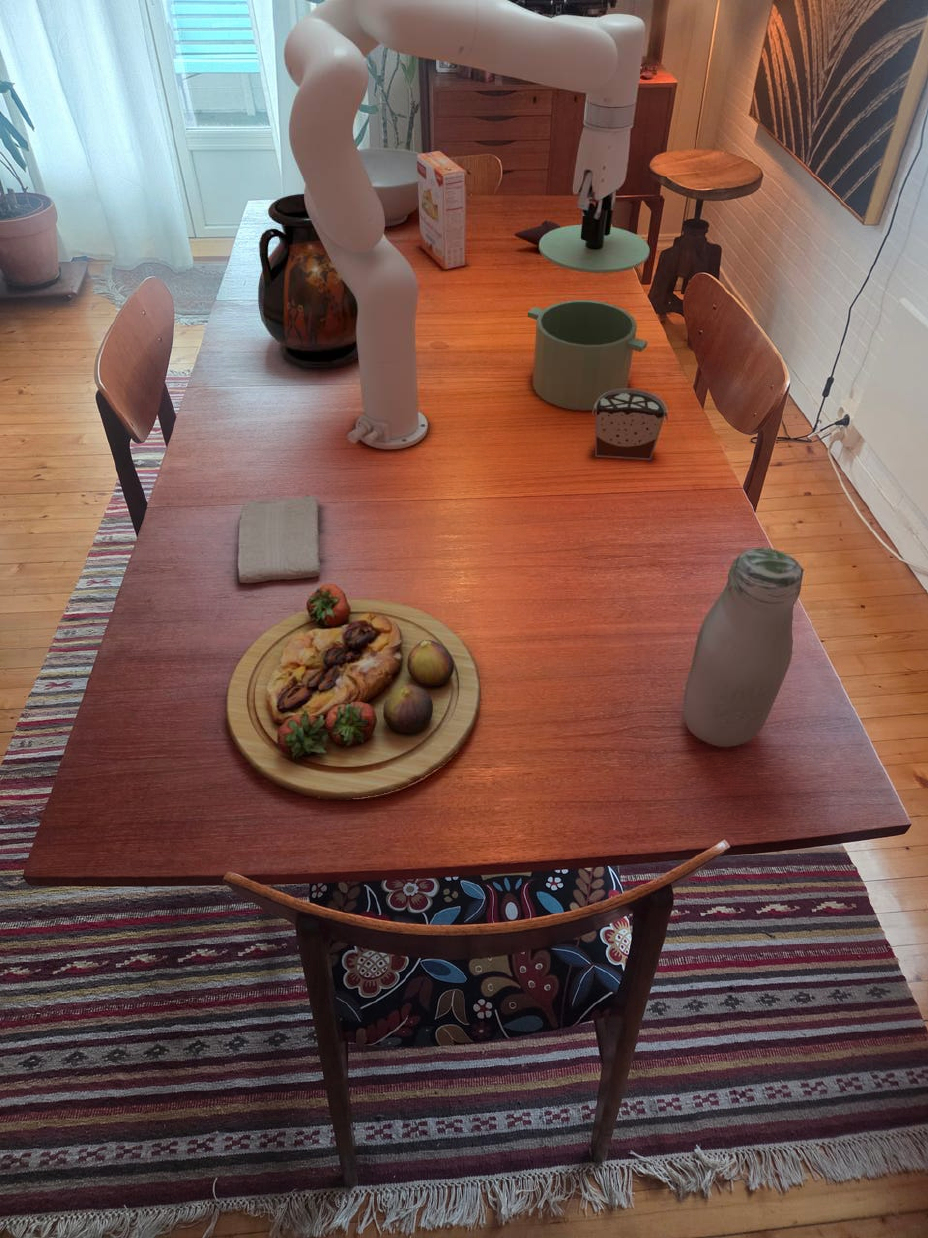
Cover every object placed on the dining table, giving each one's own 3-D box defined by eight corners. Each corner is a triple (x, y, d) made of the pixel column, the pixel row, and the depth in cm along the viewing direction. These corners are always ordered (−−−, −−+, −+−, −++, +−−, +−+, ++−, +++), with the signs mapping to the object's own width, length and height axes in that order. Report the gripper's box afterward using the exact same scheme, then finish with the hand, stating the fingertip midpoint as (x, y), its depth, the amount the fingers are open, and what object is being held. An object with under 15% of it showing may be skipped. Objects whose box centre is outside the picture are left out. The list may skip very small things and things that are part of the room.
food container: (657, 439, 153) (667, 388, 146) (659, 460, 148) (669, 408, 141) (586, 435, 154) (592, 384, 146) (586, 456, 149) (592, 404, 142)
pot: (612, 425, 156) (622, 361, 147) (503, 387, 165) (505, 324, 156) (655, 382, 166) (666, 320, 157) (550, 348, 175) (555, 287, 166)
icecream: (518, 231, 200) (582, 235, 202) (515, 210, 204) (579, 214, 206) (513, 257, 206) (576, 261, 208) (511, 236, 210) (572, 240, 211)
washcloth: (319, 504, 140) (317, 488, 137) (323, 580, 127) (321, 564, 125) (243, 511, 138) (239, 495, 136) (240, 589, 126) (236, 573, 124)
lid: (617, 286, 139) (623, 240, 134) (518, 258, 146) (520, 213, 141) (666, 247, 150) (674, 203, 144) (572, 223, 157) (576, 180, 152)
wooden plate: (242, 614, 122) (231, 570, 116) (470, 604, 124) (471, 560, 118) (212, 813, 100) (196, 771, 94) (491, 797, 102) (493, 754, 96)
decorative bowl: (339, 243, 210) (334, 190, 202) (321, 202, 228) (316, 152, 220) (447, 232, 215) (447, 180, 207) (422, 192, 233) (420, 143, 225)
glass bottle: (744, 696, 112) (806, 526, 92) (766, 762, 105) (838, 593, 85) (667, 698, 112) (713, 527, 92) (684, 764, 105) (737, 595, 85)
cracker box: (418, 247, 209) (415, 152, 194) (441, 243, 211) (440, 149, 196) (442, 271, 200) (441, 173, 185) (466, 266, 202) (467, 169, 187)
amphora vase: (343, 316, 184) (329, 174, 164) (397, 359, 172) (389, 211, 152) (248, 344, 176) (222, 198, 156) (297, 392, 163) (275, 240, 143)
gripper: (612, 96, 139) (598, 216, 152) (560, 122, 129) (550, 248, 142) (655, 105, 136) (637, 226, 149) (606, 132, 126) (591, 259, 140)
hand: (595, 235), depth 146 cm, fingers closed on lid, 3 cm apart
